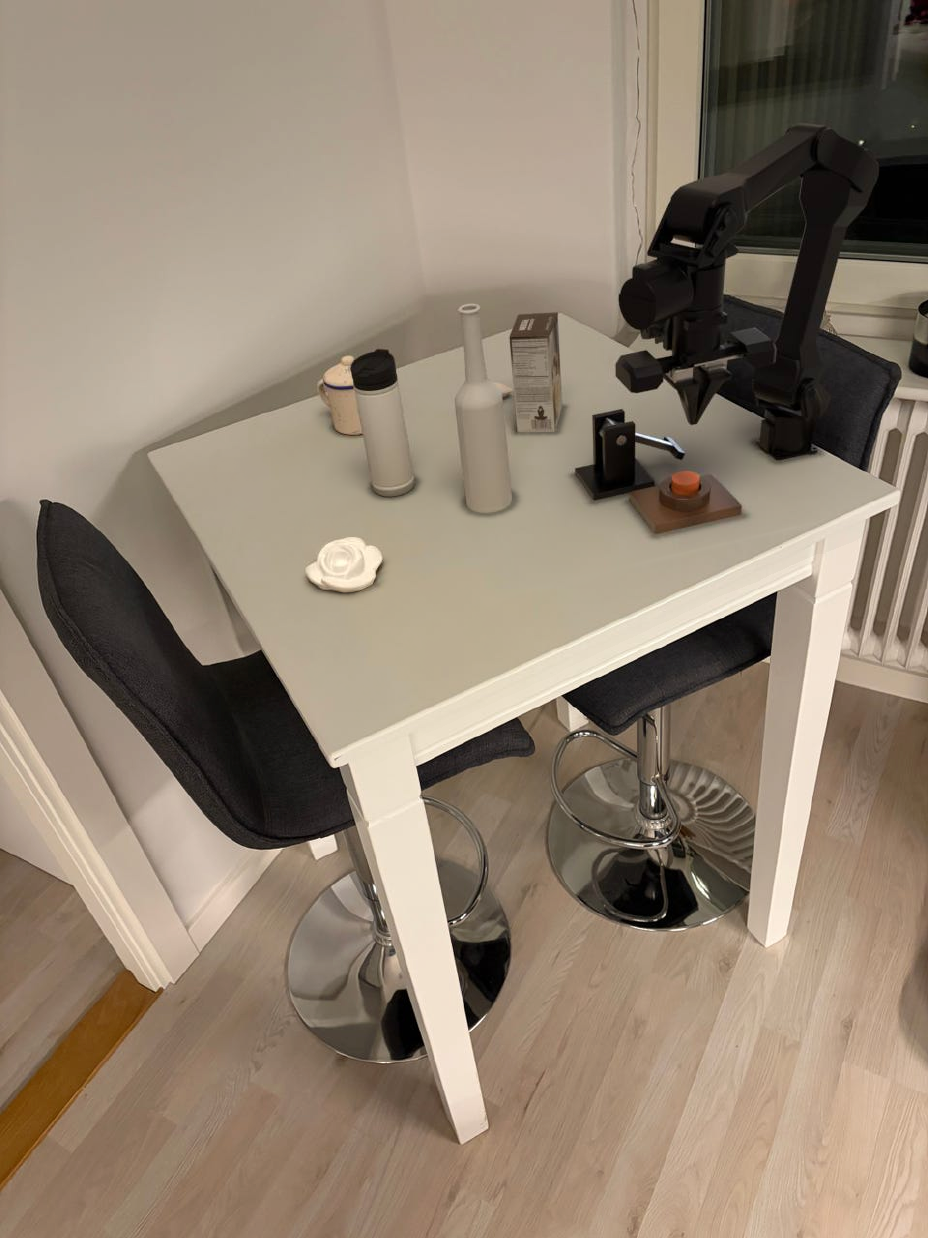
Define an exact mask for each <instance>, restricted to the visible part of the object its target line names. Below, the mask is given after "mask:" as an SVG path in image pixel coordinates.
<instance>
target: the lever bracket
mask: <svg viewBox="0 0 928 1238" xmlns="http://www.w3.org/2000/svg"><path fill="white" fill-rule="evenodd" d="M625 414H626V412H625V410H624V409H623V408H620V409H615V410H609V411H606V412H605V411H604V412H601V413H595V414H592V415H591V416H592V418H591V419H592V420H591V421H592V422H591V423H592V458H593V459H592V460H593V461H592V462H593V464H589V465H584V466H580V467H576V468H574V474H575V477H577V479H578V480H579V482H580V483H581V485H582V486H583V488H584V489H585V490H586V492H587V493H588V495H589V497H590V498H591V499H592V500H593V501H599V500H604V499H609V498H613V497H617V496H622V495H626V494H630V492H632V491H636V490H641V489H645V488H650V487H654V486H656V481H655V479H654V478H653V477H652V476H651V474H650V473H648V471H647V470H646V468H644V466H643V465H642V463H640V462H639V460H638V459H637V458H636V442H635V433H636V422H634V420H630V421H626V415H625ZM606 418H609V419H612V420H616V421H619V422H623V423H621V424H616V425H612V426H607V427H603V428H602V426H603V424H604V422H605V419H606ZM601 428H602V431H603V437H602V436H601V435H600V434H599V432H600V430H601Z"/></svg>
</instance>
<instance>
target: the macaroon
mask: <svg viewBox="0 0 928 1238" xmlns="http://www.w3.org/2000/svg"><path fill="white" fill-rule="evenodd" d="M492 383H493V384H494V385H495V386H496V387H497V388H498V389H499V390H500V392H501V393H502V398H503V399H504V398H505V397H506V396H508V395H509V394H511V393H513V392H514V389H512V388H511V387H509V386H508V385H505V384H504V383H502V382H496V381H495V382H494V381H493V382H492Z"/></svg>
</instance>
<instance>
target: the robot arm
mask: <svg viewBox="0 0 928 1238" xmlns="http://www.w3.org/2000/svg"><path fill="white" fill-rule="evenodd" d="M879 174H880V166H879V162H878V161H877V160H876V156H875V153H874V152H873V151H872V150H871V149H868V148H863V147H862V146H860V145H858V144H856V143H854V142H852V141H850V140H849V139H846V138H844V137H842V136H841V135H839V133H837V131H836V130H834V129H832V128H831V127H830V126H828V125H823V124H813V123H803V122H799V123H796V124H793V125H791V126H789V127H788V129H786V131H785V132H784V134H783V135H782V136H780V137H779V138H777V139H775V140H774V141H773V142H770V144H768V145H766V146H764V147H763V148H762V149H760V150H759V151H757V152H756V153H754V154H753V155H751V156H749V158H747V159H745V160H744V161H743V162H741V163H740V164H737V166H735V167H733V168H732V169H730V170H729V171H727V172H725V173H722V174H719V175H714V176H708V177H703V178H698V179H696V180H693V181H691V182H688V183H686V184H684V185H681V186H680V187H678V188H677V189H676V190H675V191H674V192H673V193H672V195H671V196H670V198H669V199H670V200H669V202H668V204H667V205H666V208H665V210H664V213H663V214H662V217H661V219H660V221H659V223H658V226H657V228H656V230H655V233H654V235H653V237H652V240H651V242H650V245H649V247H648V249H647V252H646V255H647V256H648V257H651V258H653V260H651V261H649V262H645V263H639V264H636V265H634V266H632V269H631V271H632V272H631V278H629V279H627V280H626V281H624V283H623V285H622V286H621V289H620V292H619V293H618V298H617V299H618V307H619V310H620V313H621V315H622V318H623V319H624V321H625V322H626V323H627V325H629V326H630V327H631V328H633V329H634V330H637V331H639V332H640V338H641V339H642V340H652V339H654V344H655V345H659V344H661V343H662V349H664V350H665V351H666V352H668V351H670V352H671V354H670V355H667V356H662V357H657V358H656V357H655V356H654V355H653V354H651V353H650V352H649V351H648V350H647V349H645V350H640V351H636V352H635V351H634V352H631V353H625V354H621V355H620V356H619V357H618V359H617V361H616V362H615V365H614V366H615V367H614V368H615V376H614V377H615V378H616V379H617V380H618V381H619V382H620V383H621V384H622V385H623V386H624V387H625V388H626V389H627V390H628V391H629V392H630V393H632V394H640V393H641V394H642V393H644V392H649V391H654V390H657V389H659V388H660V386H661V385H662V384H663V383H664V381H666V382H667V384H669V385H670V386H671V387H672V388H673V389H674V390H676V393H677V395H678V397H679V400H680V403H681V407H682V410H683V412H684V415H685V418H686V421H687V423H688V424H689V425H690V426H694V425H697V424H698V423H699V421H700V419H701V418H702V416H703V415H704V413H705V411H706V409H707V408H708V406H709V405H710V402H711V401H712V399H713V398H714V396H715V395H716V394H717V392H718V390H720V388H721V387H722V386H723V384H724V383H725V382H726V381H729V380H731V379H732V373H731V372H730V371H729V370H728V369H727V365H728V361H733V360H736V359H740V358H745V357H746V360H745V363H747V364H748V366H750V367H751V368H752V369H754V371H753V373H752V375H751V378H750V379H751V380H752V383H751V384H752V385H751V387H752V388H751V389H752V392H753V394H754V399H755V404H756V406H758V407H763V408H765V409H764V410H765V411H764V418H762V419H761V421H760V430H759V431H760V432H759V437H758V438H756V441H755V442H756V444H757V445H758V446H759V447H760V448H762V449H763V450H764V451H765V453H767V454H768V455H769V456H770V457H771V458H773V459H774V460H775V461H777V462H778V461H784V460H788V459H792V458H793V459H794V458H797V457H803V456H806V455H812V454H816V453H818V450H819V448H818V447H817V446H816V445H815V444H814V443H813V440H814V434H815V425H816V420H821V419H822V418H823V414H824V413H826V412H827V410H828V408H829V405H830V403H831V400H832V396H831V395H830V393H829V392H828V391H827V390H826V389H825V387H824V386H823V385H822V384H821V383H820V381H821V376H822V375H821V374H822V370H823V363H822V359H821V356H820V353H819V348H818V346H817V339H818V336H819V332H820V329H821V325H822V321H823V317H824V313H825V310H826V307H827V303H828V299H829V294H830V291H831V287H832V283H833V280H834V277H835V271H836V270H837V265H838V262H839V259H840V258H839V257H840V254H841V250H842V247H843V243H844V239H845V236H846V231H847V229H848V227H849V226H850V225H851V224H852V222H853V221H854V220H855V219H856V218H857V217H858V216H859V215H860V214H861V213H862V211H863V210H864V209H865V208H866V207H867V205H868V203H869V200H870V197H871V195H872V191H873V188H874V187H875V185H876V183H877V181H878V178H879ZM797 178H798V179H800V180H801V182H800V183H801V184H800V190H799V197H798V199H799V202H800V206H801V210H802V212H803V217H804V220H805V225H804V230H803V234H802V239H801V242H800V247H799V251H798V255H797V258H796V263H795V266H794V271H793V275H792V279H791V283H790V286H789V290H788V295H787V299H786V304H785V307H784V311H783V315H782V319H781V322H780V327H779V331H778V335H777V338H776V339H775V340H773V339H771V338H770V337H769V336H767V335H766V334H764V333H763V332H762V331H760V330H759V329H757V328H756V327H752V328H747V329H742V330H737V331H732V332H729V333H728V334H727V336H725V342H724V343H723V344H721V341H722V327H723V326H722V325H726V324H727V325H728V314H727V313H726V312H724V311H723V309H724V295H725V294H724V293H725V279H726V277H725V276H726V262H727V261H726V260H728V259H730V258H731V257H735V256H736V255H738V253H739V248H738V246H736V245H735V244H733V243H732V242H731V240H732V239H733V238H734V237H735V236H736V235H737V234H738V233H739V232H741V230H742V229H743V228H745V226H746V223H747V219H748V216H749V213H750V212H751V211H752V210H753V209H754V208H755V207H757V206H759V204H761V203H763V202H764V201H766V200H767V199H769V198H770V197H772V195H774V194H775V193H777V192H778V191H780V190H781V189H783V188H784V187H786V186H787V185H788V184H790V183H791V182H793V181H794V180H796V179H797ZM674 239H675V240H677V241H682V242H685V243H691V244H695V245H698V246H695V247H694V246H688V245H684V244H680V243H676V242H672V241H673V240H674Z"/></svg>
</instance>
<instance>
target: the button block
mask: <svg viewBox="0 0 928 1238" xmlns="http://www.w3.org/2000/svg"><path fill="white" fill-rule="evenodd" d="M672 476H673V475H671V476H669V477H666V478H664V480H662V481H661V482H660V485H655V486H654V487H650V488H645V489H641V490H636V491H632V492H630V493H629V503H631V504H632V506H633V508H634V509H635V510H636V511H637V513H638V514H639V515H640V517H641V518H642V519H643V520H644V522H645V523H646V524H647V526H648V527H649V528H650V529H651V531H652V532H653V533H654V534H655V535H659V534H664V533H668V532H672V531H676V530H682V529H685V528H689V527H694V526H698V525H703V524H707V523H711V522H716V521H719V520H724V519H729V518H733V517H738V516H741V515H742V507H743V505H742V504H741V503H740V502H739V501H738V500H737V499H736V497H735V496H734V495H733V494H732V493H731V492H730V491H729V490H728V489H727V488H726V487H725V485H724V484H722V483H721V481H719V480H718V478H716V476H715V475H714V474H713V473H709V474H704V475H699V477H700V481H699V491H698V492H697V493H695V494H690V495H679V494H676V493H674V492H672V490H671V481H672Z"/></svg>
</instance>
